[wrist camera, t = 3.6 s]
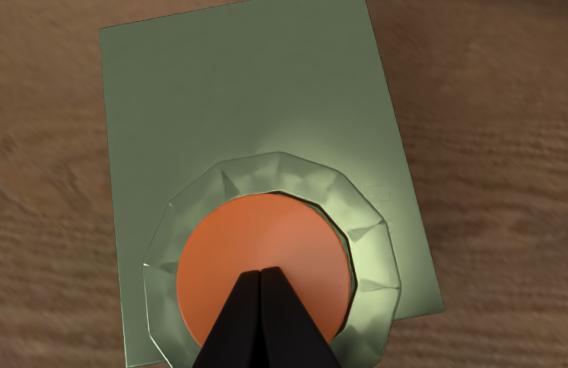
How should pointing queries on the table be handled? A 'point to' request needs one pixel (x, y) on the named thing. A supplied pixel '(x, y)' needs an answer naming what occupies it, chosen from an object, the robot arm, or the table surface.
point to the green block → (259, 158)
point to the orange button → (263, 260)
